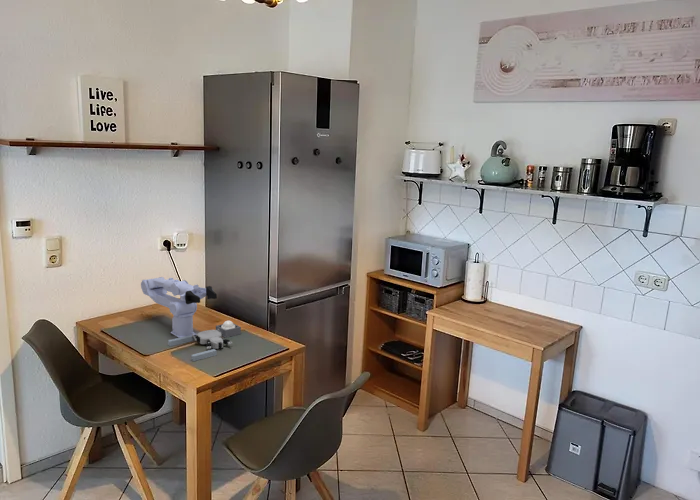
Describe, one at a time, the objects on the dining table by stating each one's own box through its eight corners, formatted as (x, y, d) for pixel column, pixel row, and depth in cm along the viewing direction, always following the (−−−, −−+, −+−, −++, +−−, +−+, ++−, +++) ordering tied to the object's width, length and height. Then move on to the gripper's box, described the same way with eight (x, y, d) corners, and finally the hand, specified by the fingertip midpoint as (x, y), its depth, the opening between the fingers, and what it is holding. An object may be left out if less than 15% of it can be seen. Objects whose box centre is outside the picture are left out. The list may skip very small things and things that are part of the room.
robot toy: (234, 349, 225) (217, 336, 236) (234, 339, 224) (217, 326, 235) (206, 355, 217) (190, 342, 228) (207, 345, 216) (191, 332, 227)
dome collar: (215, 332, 241) (215, 325, 240) (231, 329, 246) (231, 322, 246) (225, 337, 235) (225, 330, 235) (240, 333, 241) (240, 326, 240)
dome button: (218, 330, 241) (218, 320, 240) (230, 327, 245) (230, 317, 244) (225, 334, 236) (225, 323, 235) (237, 331, 241) (237, 321, 240)
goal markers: (167, 344, 224) (167, 340, 224) (190, 339, 231) (190, 335, 231) (193, 361, 209) (193, 356, 209) (216, 355, 216) (216, 350, 215)
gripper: (174, 286, 223) (191, 292, 214) (205, 279, 233) (222, 285, 224) (175, 302, 224) (192, 309, 215) (206, 295, 235) (223, 301, 225)
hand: (207, 298), depth 220 cm, fingers open, 7 cm apart
